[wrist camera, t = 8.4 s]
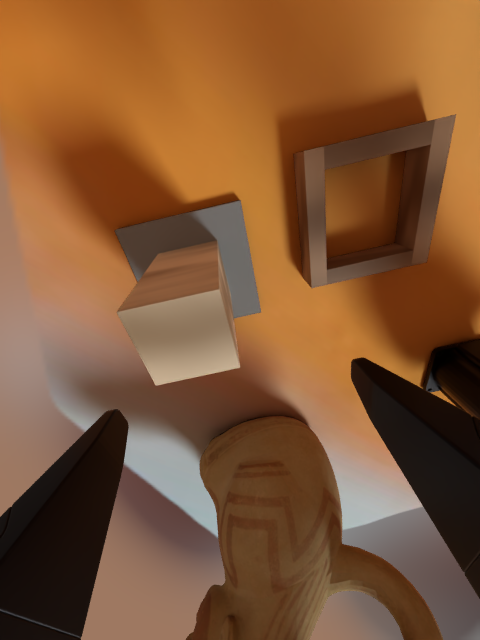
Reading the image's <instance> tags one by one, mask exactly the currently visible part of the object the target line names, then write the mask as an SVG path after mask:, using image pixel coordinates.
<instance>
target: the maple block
mask: <svg viewBox="0 0 480 640" xmlns="http://www.w3.org/2000/svg"><path fill="white" fill-rule="evenodd" d="M117 314H118V316H119V318H120V320H121V322H122V323H123V325H124V327H125V329H126V331H127V333H128V335H129V337H130V338H131V340H132V342H133V344H134V346H135V348H136V350H137V351H138V353H139V355H140V357H141V359H142V361H143V363H144V364H145V366H146V368H147V370H148V372H149V374H150V376H151V378H152V379H153V381H154V383H155V385H156V386H157V385H162V384H166V383H171V382H176V381H180V380H185V379H190V378H194V377H199V376H204V375H208V374H213V373H218V372H222V371H227V370H232V369H236V368H240V362H239V354H238V347H237V339H236V331H235V324H234V316H233V309H232V301H231V294H230V290H229V286H228V282H227V278H226V274H225V269H224V265H223V261H222V257H221V253H220V249H219V245H218V241H217V240H216V241H212V242H207V243H203V244H199V245H194V246H190V247H186V248H181V249H177V250H172V251H168V252H164V253H159V254H158V255H157V256H156V257H155V259H154V260H153V262H152V263H151V264H150V266H149V267H148V269H147V270H146V272H145V273H144V274H143V276H142V277H141V279H140V280H139V281H138V283H137V284H136V286H135V287H134V288H133V290H132V291H131V293H130V294H129V295H128V297H127V298H126V300H125V301H124V302H123V304H122V305H121V307H120V308H119V309H118V311H117Z"/></svg>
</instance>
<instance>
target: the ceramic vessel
mask: <svg viewBox="0 0 480 640" xmlns="http://www.w3.org/2000/svg"><path fill="white" fill-rule="evenodd" d="M200 476H201V478H202V480H203V483H204V486H205V488H206V489H207V491H208V492H209V494H210V496H211V498H212V499H213V502H214V504H215V508H216V512H217V524H218V539H219V546H220V551H221V556H222V561H223V566H224V570H225V579H226V581H225V583H224V584H223V585H222V586H220V585H213V586H211V587H210V589H209V590H208V592H207V594H206V596H205V598H204V599H203V601H202V603H201V605H200V608H199V610H198V613H197V617H196V621H197V623H196V626H195V629H194V632H193V633H191V634H189V636H188V637H187V638H186V640H309V639H310V637H311V635H312V632H313V630H314V628H315V625H316V623H317V621H318V618H319V616H320V614H321V612H322V610H323V607H324V605H325V603H326V601H327V599H328V597H329V596H331V595H332V594H334V593H337V592H341V591H359V592H363V593H365V594H368V595H370V596H372V597H373V598H375V599H377V600H378V601H379V602H381V603H382V604H383V605H384V606H385V607H386V608H387V609H388V610H389V611H390V613H391V614H392V615H393V617H394V618H395V620H396V622H397V623H398V625H399V627H400V630H401V633H402V635H403V638H404V640H443V637H442V635H441V632H440V629H439V627H438V625H437V623H436V621H435V618H434V616H433V614H432V612H431V611H430V609H429V607H428V605H427V604H426V602H425V600H424V599H423V598H422V596H421V595H420V594H419V593H418V591H417V590H416V589H415V587H414V586H413V585H412V584H411V583H410V582H409V581H408V580H407V579H406V578H405V577H404V576H403V575H402V574H401V573H400V572H399V571H398V570H397V569H396V568H394V567H393V566H392V565H391V564H390V563H388V562H387V561H385V560H384V559H382V558H381V557H379V556H376V555H375V554H372V553H370V552H367V551H365V550H363V549H360V548H358V547H353V546H349V545H344V544H342V511H341V503H340V496H339V491H338V487H337V483H336V479H335V475H334V472H333V469H332V466H331V464H330V461H329V459H328V456H327V454H326V452H325V450H324V448H323V446H322V444H321V442H320V441H319V439H318V437H317V436H316V435H315V433H314V432H313V431H312V430H311V429H310V428H309V427H308V426H307V425H305V424H304V423H302V422H301V421H299V420H296V419H294V418H290V417H285V416H270V417H263V418H259V419H255V420H251V421H247V422H244V423H241V424H239V425H237V426H235V427H233V428H231V429H229V430H228V431H226V432H225V433H223V434H222V435H219V436H217V437H216V438H214V439H213V440H212V441H211V442H210V443H209V446H208V447H207V449H206V450H205V452H204V454H203V455H202V457H201V460H200Z"/></svg>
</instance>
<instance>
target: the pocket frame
mask: <svg viewBox="0 0 480 640" xmlns="http://www.w3.org/2000/svg"><path fill="white" fill-rule="evenodd" d="M455 117H456V115H451V116H447V117H443V118H439V119H435V120H431V121H427V122H422V123H418V124H414V125H410V126H406V127H402V128H398V129H393V130H389V131H385V132H381V133H377V134H373V135H369V136H364V137H360V138H356V139H352V140H348V141H344V142H340V143H335V144H331V145H327V146H323V147H319V148H315V149H311V150H306V151H302V152H299V153H295V154H294V167H295V180H296V193H297V206H298V219H299V233H300V246H301V259H302V272H303V278H304V280H305V281H306V282H307V283H308V284H309V286H310V287H311V288H314V287H319V286H323V285H328V284H332V283H337V282H341V281H345V280H350V279H354V278H359V277H363V276H368V275H372V274H377V273H381V272H386V271H390V270H394V269H399V268H403V267H408V266H412V265H417V264H421V263H426V262H427V259H428V254H429V249H430V244H431V239H432V234H433V229H434V224H435V219H436V214H437V208H438V203H439V198H440V193H441V188H442V183H443V178H444V173H445V168H446V163H447V158H448V153H449V148H450V143H451V138H452V133H453V128H454V123H455ZM401 151H406V158H405V166H404V174H403V182H402V190H401V198H400V206H399V215H398V223H397V231H396V239H395V243H393V244H389V245H385V246H380V247H376V248H371V249H367V250H363V251H358V252H354V253H350V254H345V255H341V256H336V257H332V258H328V259H326V214H325V170H326V169H330V168H334V167H339V166H343V165H347V164H351V163H355V162H359V161H364V160H368V159H372V158H376V157H380V156H385V155H389V154H393V153H397V152H401Z"/></svg>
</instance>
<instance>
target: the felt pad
mask: <svg viewBox="0 0 480 640" xmlns="http://www.w3.org/2000/svg"><path fill="white" fill-rule="evenodd" d="M115 233H116V235H117V237H118V239H119V242H120V244H121V246H122V248H123V250H124V253H125V255H126V257H127V259H128V261H129V264H130V266H131V268H132V270H133V272H134V275H135V277H136V279H137V281H139V280H140V279H141V277H142V276H143V274H144V273H145V272H146V270H147V269H148V267H149V266H150V264H151V263H152V262H153V260H154V259H155V257H156V256H157V255H158V254H159V253H164V252H168V251H172V250H177V249H181V248H186V247H190V246H194V245H199V244H203V243H207V242H212V241H216V240H217V241H218V245H219V249H220V253H221V257H222V261H223V265H224V269H225V274H226V278H227V282H228V286H229V290H230V294H231V301H232V309H233V316H234V318H237V317H242V316H246V315H251V314H255V313H260V312H261V309H260V303H259V298H258V293H257V287H256V282H255V276H254V271H253V266H252V260H251V255H250V249H249V244H248V239H247V233H246V228H245V222H244V217H243V211H242V206H241V201H240V200H237V201H233V202H229V203H225V204H221V205H216V206H212V207H208V208H204V209H200V210H195V211H191V212H187V213H183V214H178V215H174V216H170V217H166V218H162V219H157V220H153V221H149V222H145V223H141V224H136V225H132V226H128V227H124V228H120V229H117V230H115Z"/></svg>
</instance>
